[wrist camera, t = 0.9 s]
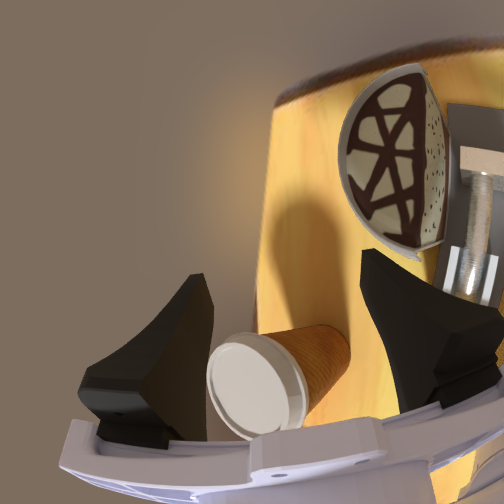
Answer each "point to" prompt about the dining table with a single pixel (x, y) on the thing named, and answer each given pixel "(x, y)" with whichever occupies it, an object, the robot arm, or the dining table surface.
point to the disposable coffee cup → (274, 377)
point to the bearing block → (486, 278)
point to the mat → (476, 136)
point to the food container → (398, 161)
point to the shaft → (477, 214)
